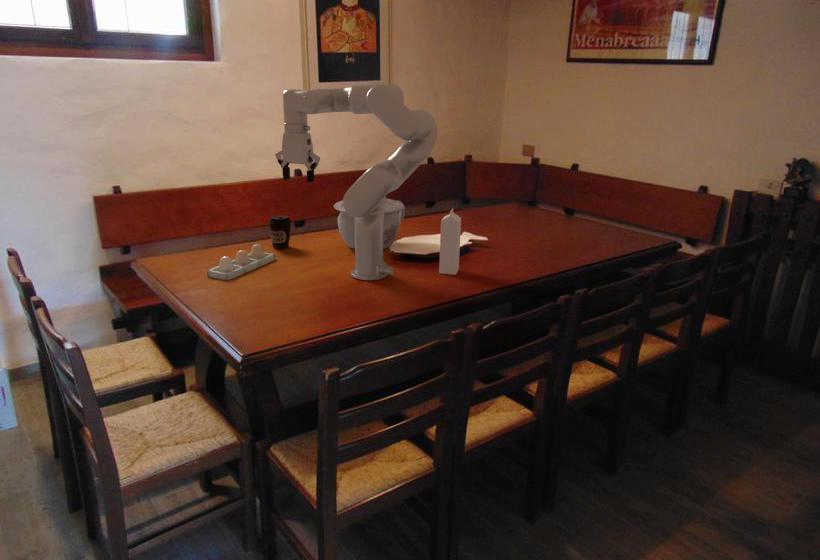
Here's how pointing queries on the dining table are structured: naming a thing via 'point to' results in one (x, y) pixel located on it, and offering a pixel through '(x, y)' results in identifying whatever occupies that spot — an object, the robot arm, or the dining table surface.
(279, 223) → the coffee cup
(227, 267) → the white egg shape
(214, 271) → the egg carton
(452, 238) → the milk
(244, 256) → the brown egg middle
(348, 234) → the chamber pot
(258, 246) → the brown egg end
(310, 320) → the dining table surface
